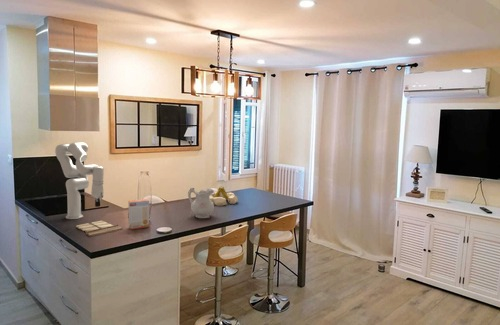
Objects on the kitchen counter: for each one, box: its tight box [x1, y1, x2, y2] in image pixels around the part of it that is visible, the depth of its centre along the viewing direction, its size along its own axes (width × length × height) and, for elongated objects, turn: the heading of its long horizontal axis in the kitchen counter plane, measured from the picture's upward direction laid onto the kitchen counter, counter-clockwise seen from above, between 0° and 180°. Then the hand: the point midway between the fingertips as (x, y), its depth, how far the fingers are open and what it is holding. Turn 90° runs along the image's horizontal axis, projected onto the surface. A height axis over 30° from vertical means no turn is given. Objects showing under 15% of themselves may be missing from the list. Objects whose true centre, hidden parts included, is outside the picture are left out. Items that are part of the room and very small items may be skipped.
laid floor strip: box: [85, 224, 124, 237], centre depth 262 cm, size 7×24×2 cm, turn 140°
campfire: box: [209, 185, 239, 207], centre depth 367 cm, size 35×34×17 cm
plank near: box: [75, 222, 100, 233], centre depth 267 cm, size 18×9×1 cm, turn 50°
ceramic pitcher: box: [187, 187, 215, 219], centre depth 310 cm, size 22×20×25 cm
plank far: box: [90, 220, 114, 229], centre depth 275 cm, size 18×9×1 cm, turn 50°
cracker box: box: [128, 198, 150, 230], centre depth 274 cm, size 14×6×21 cm, turn 121°
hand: (97, 206), depth 278 cm, fingers closed
